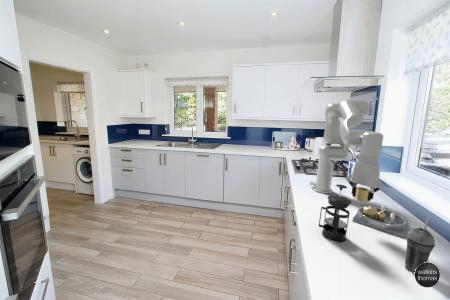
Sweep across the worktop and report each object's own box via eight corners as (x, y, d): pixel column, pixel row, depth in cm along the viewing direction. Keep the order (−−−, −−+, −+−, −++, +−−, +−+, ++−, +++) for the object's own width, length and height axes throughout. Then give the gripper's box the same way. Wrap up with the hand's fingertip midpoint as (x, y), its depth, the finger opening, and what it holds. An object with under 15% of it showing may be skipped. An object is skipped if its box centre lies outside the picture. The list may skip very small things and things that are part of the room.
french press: (347, 234, 96) (355, 184, 92) (348, 245, 88) (357, 191, 84) (318, 226, 101) (325, 179, 97) (317, 236, 93) (324, 185, 89)
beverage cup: (394, 263, 78) (405, 211, 75) (413, 262, 79) (424, 211, 76) (413, 278, 71) (426, 222, 68) (433, 278, 72) (447, 222, 68)
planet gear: (353, 199, 100) (354, 188, 99) (355, 195, 104) (357, 186, 103) (367, 203, 96) (369, 192, 95) (369, 199, 101) (371, 189, 100)
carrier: (352, 221, 109) (354, 207, 107) (361, 209, 123) (363, 197, 122) (403, 238, 95) (406, 222, 94) (406, 222, 110) (409, 209, 109)
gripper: (345, 157, 100) (339, 194, 103) (391, 165, 88) (382, 206, 92) (349, 155, 105) (343, 190, 109) (393, 162, 94) (385, 201, 97)
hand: (361, 197), depth 100 cm, fingers closed on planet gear, 5 cm apart
